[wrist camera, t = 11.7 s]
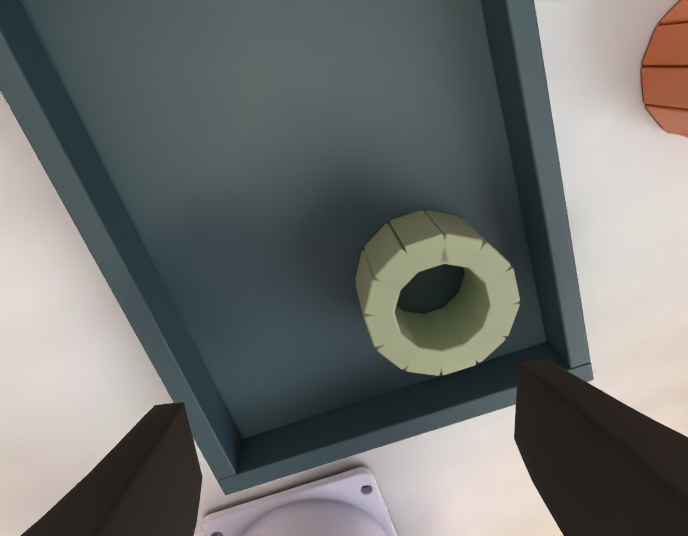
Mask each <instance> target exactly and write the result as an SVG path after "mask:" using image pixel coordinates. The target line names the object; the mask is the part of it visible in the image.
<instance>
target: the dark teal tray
mask: <svg viewBox="0 0 688 536" xmlns="http://www.w3.org/2000/svg"><path fill="white" fill-rule="evenodd" d="M0 90H1V92H2V94H3V96H4V97H5V99H6V101H7V103H8V105H9V106H10V108H11V110H12V112H13V114H14V115H15V117H16V119H17V121H18V123H19V124H20V126H21V128H22V130H23V132H24V133H25V135H26V137H27V139H28V141H29V142H30V144H31V146H32V148H33V150H34V151H35V153H36V155H37V157H38V159H39V160H40V162H41V164H42V166H43V168H44V169H45V171H46V173H47V175H48V177H49V178H50V180H51V182H52V184H53V186H54V187H55V189H56V191H57V193H58V195H59V196H60V198H61V200H62V202H63V204H64V205H65V207H66V209H67V211H68V213H69V214H70V216H71V218H72V220H73V222H74V223H75V225H76V227H77V229H78V231H79V232H80V234H81V236H82V238H83V240H84V241H85V243H86V245H87V247H88V249H89V250H90V252H91V254H92V256H93V258H94V259H95V261H96V263H97V265H98V267H99V268H100V270H101V272H102V274H103V276H104V277H105V279H106V281H107V283H108V285H109V286H110V288H111V290H112V292H113V294H114V295H115V297H116V299H117V301H118V303H119V304H120V306H121V308H122V310H123V312H124V313H125V315H126V317H127V319H128V321H129V322H130V324H131V326H132V328H133V330H134V331H135V333H136V335H137V337H138V339H139V340H140V342H141V344H142V346H143V348H144V350H145V351H146V353H147V355H148V357H149V359H150V360H151V362H152V364H153V366H154V368H155V369H156V371H157V373H158V375H159V377H160V378H161V380H162V382H163V384H164V386H165V387H166V389H167V391H168V393H169V395H170V396H171V398H172V400H173V402H174V403H179V402H184V404H185V408H186V412H187V416H188V420H189V424H190V428H191V432H192V436H193V438H194V440H195V441H196V443H197V445H198V447H199V449H200V450H201V452H202V454H203V456H204V458H205V459H206V461H207V463H208V465H209V467H210V468H211V470H212V472H213V474H214V476H215V477H216V479H217V480H218V483H219V485H220V486H221V488H222V490H223V492H224V494H225V495H228V494H231V493H234V492H238V491H241V490H244V489H247V488H250V487H254V486H257V485H260V484H263V483H266V482H270V481H273V480H276V479H279V478H282V477H285V476H289V475H292V474H295V473H298V472H301V471H305V470H308V469H311V468H314V467H317V466H320V465H324V464H327V463H330V462H333V461H336V460H340V459H343V458H346V457H349V456H352V455H355V454H359V453H362V452H365V451H368V450H371V449H375V448H378V447H381V446H384V445H387V444H391V443H394V442H397V441H400V440H403V439H406V438H410V437H413V436H416V435H419V434H422V433H426V432H429V431H432V430H435V429H438V428H441V427H445V426H448V425H451V424H454V423H457V422H461V421H464V420H467V419H470V418H473V417H476V416H480V415H483V414H486V413H489V412H492V411H496V410H499V409H502V408H505V407H508V406H511V405H515V404H516V393H517V373H518V362H526V361H535V360H543V359H546V360H548V361H550V362H552V363H554V364H556V365H558V366H560V367H561V368H563V369H565V370H567V371H568V372H570V373H572V374H574V375H575V376H577V377H579V378H580V379H582V380H584V381H586V382H588V381H591V380H593V372H592V366H591V363H590V356H589V349H588V343H587V336H586V330H585V324H584V317H583V311H582V305H581V298H580V292H579V285H578V279H577V273H576V266H575V260H574V253H573V247H572V241H571V234H570V228H569V222H568V215H567V209H566V202H565V196H564V190H563V183H562V177H561V171H560V164H559V158H558V151H557V145H556V139H555V132H554V126H553V120H552V113H551V107H550V100H549V94H548V88H547V81H546V75H545V68H544V62H543V56H542V49H541V43H540V37H539V30H538V24H537V17H536V11H535V5H534V0H0ZM420 210H423V211H424V212H425V211H426V210H431V211H436V212H442V213H447V214H452V215H457V216H458V217H459V218H463V219H464V220H465V221H466V222H467V223H468V224H469V225H470V226H471V227H472V228H473V229H474V230H476V231H477V232H478V233H479V234H480V235H481V236H482V237H483V238H484V239H485V240H486V241H487V242H488V243H489V244H490V245H491V246H492V247H493V248H495V249H496V250H497V251H498V252H499V253H500V254H501V255H502V256H503V257H504V258H505V259H506V260H507V261H508V262H509V263H510V265H511V267H512V268H513V269H514V273H515V278H516V283H517V287H518V292H519V297H520V301H519V302H518V303H519V308H518V311H517V314H516V316H515V319H514V322H513V324H512V327H511V330H510V333H509V335H508V336H504V337H505V341H504V342H503V343H502V344H500V345H499V346H498V347H497V348H496V349H495V350H494V351H493V352H492V353H491V354H490V355H488V356H487V357H486V358H485V359H484V360H483V361H482V362H481V363H478V362H477V361H476V365H475V366H472V367H469V368H465V369H462V370H459V371H456V372H453V373H450V374H447V375H442V374H441V372H440V375H439V376H435V375H428V374H420V373H413V372H407V371H405V368H404V369H403V370H402V369H400V368H399V367H397V366H396V365H395V364H393V363H392V362H391V361H389V360H388V359H387V358H386V357H384V356H383V355H382V354H380V353H379V352H378V351H377V350H376V347H374V345H373V343H372V340H371V338H370V335H369V332H368V329H367V326H366V323H365V320H364V317H363V313H362V309H361V305H360V301H359V297H358V293H357V289H356V281H355V278H356V274H357V269H358V265H359V261H360V257H361V253H362V251H363V250H365V248H364V246H365V245H366V244H367V243H368V242H369V241H370V240H371V239H372V238H373V237H374V236H375V234H376V233H377V232H378V231H379V230H380V229H381V228H382V227H383V226H384V225H385V224H386V223H389V224H390V220H393V219H396V218H399V217H402V216H405V215H408V214H411V213H414V212H417V211H420ZM390 225H391V224H390ZM464 274H465V272H464V268H463V267H460V266H454V265H448V264H442V265H439V266H436V267H433V268H430V269H427V270H423V271H420V272H418V273H417V274H416V275H415V276H414V277H413V278H412V279H411V280H410V281H409V282H408V283H407V284H406V285H405V286H404V287H403V288H402V289H401V290H400V294H399V298H398V301H397V306H398V307H399V308H400V309H402V310H403V311H407V312H413V313H420V314H425V313H428V312H431V311H434V310H438V309H441V308H443V307H444V306H445V305H446V304H447V303H448V302H449V301H450V300H451V299H453V298H454V297H455V296H456V295H457V294H458V293H459V290H460V287H461V284H462V280H463V277H464Z"/></svg>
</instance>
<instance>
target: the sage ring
mask: <svg viewBox="0 0 688 536" xmlns="http://www.w3.org/2000/svg"><path fill="white" fill-rule="evenodd" d="M390 224H391V225H390ZM390 224H389V223H386V224H385V225H384V226H383V227H382V228H381V229H380V230H379V231H378V232H377V233H376V234H375V236H374V237H373V238H372V239H371V240H370V241H369V242H368V243H367V244H366V245H365V246H364V248H365V250H363V251H362V253H361V257H360V261H359V265H358V269H357V274H356V278H355V281H356V289H357V293H358V297H359V301H360V305H361V309H362V313H363V317H364V320H365V323H366V326H367V329H368V332H369V335H370V338H371V340H372V343H373V345H374V347H376V350H377V351H378V352H379V353H380V354H382V355H383V356H384V357H386V358H387V359H388V360H389V361H391V362H392V363H393V364H395V365H396V366H397V367H399V368H400V369H402V370H403V369H404V368H405V371H407V372H413V373H420V374H428V375H435V376H439V375H440V372H441V374H442V375H447V374H450V373H453V372H456V371H459V370H462V369H465V368H469V367H472V366H475V365H476V361H477V362H478V363H481V362H482V361H483V360H484V359H485V358H486V357H487V356H488V355H490V354H491V353H492V352H493V351H494V350H495V349H496V348H497V347H498V346H499V345H500V344H502V343H503V342H504V341H505V337H504V336H508V335H509V333H510V330H511V327H512V324H513V322H514V319H515V316H516V314H517V311H518V308H519V303H518V302H519V301H520V297H519V292H518V287H517V283H516V278H515V273H514V269H513V268H512V267H511V265H510V263H509V262H508V261H507V260H506V259H505V258H504V257H503V256H502V255H501V254H500V253H499V252H498V251H497V250H496V249H495V248H493V247H492V246H491V245H490V244H489V243H488V242H487V241H486V240H485V239H484V238H483V237H482V236H481V235H480V234H479V233H478V232H477V231H476V230H474V229H473V228H472V227H471V226H470V225H469V224H468V223H467V222H466V221H465V220H464V219H463V218H459V217H458V216H457V215H452V214H447V213H442V212H436V211H431V210H426V211H425V212H424V211H423V210H420V211H417V212H414V213H411V214H408V215H405V216H402V217H399V218H396V219H393V220H390ZM442 264H448V265H454V266H460V267H463V268H464V272H465V274H464V277H463V280H462V284H461V287H460V290H459V293H458V294H457V295H456V296H455V297H454V298H453V299H451V300H450V301H449V302H448V303H447V304H446V305H445V306H444V307H443V308H441V309H438V310H434V311H431V312H428V313H425V314H420V313H413V312H407V311H403V310H402V309H400V308H399V307H398V306H397V301H398V298H399V294H400V290H401V289H402V288H403V287H404V286H405V285H406V284H407V283H408V282H409V281H410V280H411V279H412V278H413V277H414V276H415V275H416V274H417V273H418V272H420V271H423V270H427V269H430V268H433V267H436V266H439V265H442Z"/></svg>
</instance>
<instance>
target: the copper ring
mask: <svg viewBox="0 0 688 536" xmlns="http://www.w3.org/2000/svg"><path fill="white" fill-rule="evenodd" d="M659 23H660V25H661V26H657V27H656V29H655V32H654V34H653V37H652V39H651V42H650V44H649V47H648V50H647V52H646V55H645V57H644V60H643V62H642V64H643V65H644V66H645V67H643V68H641V75H642V86H643V97H644V103H645V104H647V105H646V108H647V110H648V111H649V112H650V113H651V115H652V116H653V117H654V118H655V119H656V121H657V122H658V123H659V124H660V126H661V127H662V128H663V129H664V130H666V131H667V132H668V133H672V134H676V135H681V136H685V137H688V0H681V1H680V2H679V3H678V4H677V5H676V6H675V7H674V8H673V9H672V10H671V11H670V12H669V13H668V14H667V15H666V16H665V17H664V18H663V19H662V20H661V21H660V22H659Z"/></svg>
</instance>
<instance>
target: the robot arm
mask: <svg viewBox="0 0 688 536" xmlns="http://www.w3.org/2000/svg"><path fill="white" fill-rule="evenodd" d="M514 439H515V441H516V444H517V446H518V449H519V451H520V454H521V456H522V459H523V461H524V463H525V466H526V468H527V470H528V472H529V475H530V477H531V479H532V481H533V483H534V485H535V487H536V489H537V490H538V492H539V494H540V496H541V497H542V499H543V501H544V502H545V504H546V506H547V508H548V509H549V511H550V513H551V515H552V516H553V518H554V520H555V521H556V523H557V525H558V527H559V528H560V530H561V532H562V533H563V535H564V536H688V437H686V436H684V435H682V434H680V433H678V432H676V431H674V430H672V429H670V428H668V427H667V426H665V425H663V424H661V423H659V422H657V421H655V420H653V419H651V418H649V417H647V416H645V415H644V414H642V413H640V412H638V411H636V410H634V409H633V408H631V407H629V406H627V405H625V404H624V403H622V402H620V401H618V400H617V399H615V398H613V397H611V396H610V395H608V394H606V393H604V392H603V391H601V390H599V389H597V388H596V387H594V386H592V385H591V384H589V383H587V382H586V381H584V380H582V379H580V378H579V377H577V376H575V375H574V374H572V373H570V372H568V371H567V370H565V369H563V368H561V367H560V366H558V365H556V364H554V363H552V362H550V361H548V360H546V359H543V360H535V361H526V362H518V373H517V393H516V413H515V433H514ZM201 484H202V474H201V470H200V465H199V461H198V457H197V453H196V449H195V445H194V441H193V437H192V432H191V428H190V424H189V420H188V416H187V412H186V408H185V404H184V402H179V403H171V404H162V405H155V406H154V407H153V408H152V409H151V410H150V411H149V412H148V413H147V414H146V415H145V416H144V417H143V418H142V419H141V420H140V421H139V422H138V423H137V424H136V425H135V426H134V427H133V428H132V429H131V430H130V431H129V433H128V434H127V435H126V436H125V437H124V438H123V439H122V440H121V441H120V442H119V443H118V444H117V445H116V446H115V447H114V448H113V449H112V450H111V451H110V452H109V453H108V454H107V455H106V456H105V457H104V458H103V459H102V460H101V461H100V462H99V463H98V464H97V465H96V467H95V468H94V469H93V470H92V471H91V472H90V473H89V474H88V475H87V476H85V477H84V478H83V479H82V480H81V481H80V482H79V483H78V484H77V485H76V486H75V487H74V488H73V489H72V490H71V491H70V492H68V493H67V494H66V495H65V496H64V497H63V498H62V499H61V500H60V501H59V502H58V503H57V504H56V505H55V506H54V507H52V508H51V509H50V510H49V511H48V512H47V513H46V514H45V515H44V516H43V517H42V518H40V519H39V520H38V521H37V522H36V523H35V524H34V525H32V526H31V527H30V528H29V529H28V530H27V531H25V532H24V533H23V534H22V535H21V536H193V535H194V531H195V527H196V522H197V515H198V508H199V501H200V492H201ZM364 485H369V486H368V487H365V488H363V486H364ZM201 528H202V531H203V533H204V534H205V536H398V535H397V533H396V530H395V528H394V525H393V523H392V520H391V518H390V515H389V512H388V510H387V507H386V505H385V502H384V500H383V497H382V495H381V492H380V490H379V487H378V485H377V482H376V479H375V477H374V474H373V472H372V471H371V469H369V468H367V467H359V468H356V469H352V470H349V471H346V472H343V473H340V474H336V475H333V476H330V477H327V478H324V479H320V480H317V481H314V482H311V483H308V484H304V485H301V486H298V487H295V488H292V489H288V490H285V491H282V492H279V493H276V494H272V495H269V496H266V497H263V498H260V499H256V500H253V501H250V502H247V503H244V504H240V505H237V506H234V507H231V508H228V509H224V510H221V511H218V512H215V513H212V514H209V515H207V516H205V517H204V519H203V522H202V527H201ZM216 532H221V533H216Z"/></svg>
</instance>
